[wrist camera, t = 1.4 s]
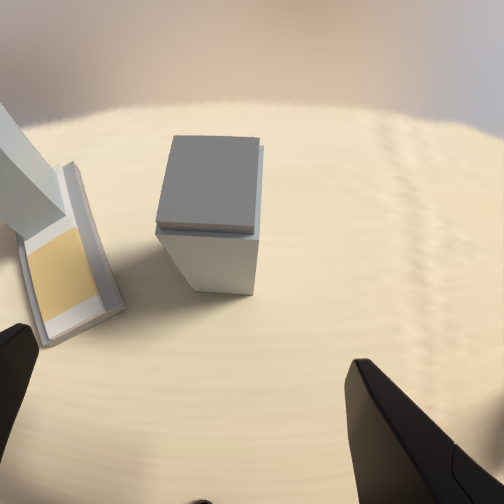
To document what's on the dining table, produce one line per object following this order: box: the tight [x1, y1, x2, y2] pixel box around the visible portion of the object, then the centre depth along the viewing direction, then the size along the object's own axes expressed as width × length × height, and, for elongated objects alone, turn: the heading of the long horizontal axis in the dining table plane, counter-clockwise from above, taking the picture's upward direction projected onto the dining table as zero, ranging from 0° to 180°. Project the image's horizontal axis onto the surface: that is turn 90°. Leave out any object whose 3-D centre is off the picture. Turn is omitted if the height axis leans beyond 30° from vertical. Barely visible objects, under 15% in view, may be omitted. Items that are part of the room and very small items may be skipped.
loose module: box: [155, 136, 264, 295], centre depth 17 cm, size 4×4×11 cm
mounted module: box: [0, 103, 66, 240], centre depth 16 cm, size 4×4×11 cm
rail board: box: [16, 161, 126, 347], centre depth 22 cm, size 14×7×2 cm, turn 29°
